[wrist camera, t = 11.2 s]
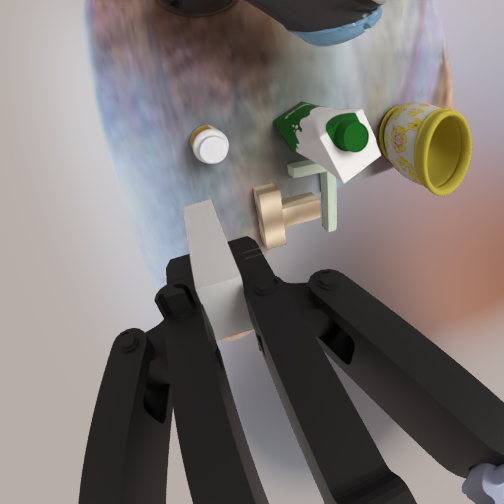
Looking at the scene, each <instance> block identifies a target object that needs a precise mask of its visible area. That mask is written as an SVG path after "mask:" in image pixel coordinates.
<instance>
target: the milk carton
mask: <svg viewBox="0 0 504 504" xmlns="http://www.w3.org/2000/svg"><path fill="white" fill-rule="evenodd" d="M273 122H274V124H275V125H276V127H277V128H278V130H279V131H280V133H281V134H282V136H283V137H284V139H285V140H286V142H287V143H288V145H289V146H290V148H291V149H292V151H294V152H297V153H299V154H301V155H303V156H304V157H306V158H308V159H310V160H312V161H313V162H315V163H317V164H319V165H321V166H322V167H323V168H325V169H326V170H327V171H329V172H330V173H331V174H333V175H334V176H335V177H336V178H338V179H339V180H340V181H341V182H342V183H346V182H347V181H348V180H350V179H351V178H352V177H354V176H355V175H356V174H357V173H359V172H360V171H361V170H363V169H364V168H365V167H367V166H368V165H369V164H371V163H372V162H373V161H374V160H376V159H377V158H378V157H380V156H381V153H380V151H379V148H378V146H377V143H376V138H375V136H374V134H373V132H372V130H371V127H370V125H369V123H368V121H367V119H366V116H365V114H364V112H363V110H362V109H339V110H338V109H333V108H327V107H322V106H316V105H312V104H309V103H305V102H301V103H300V104H298V105H297V106H295V107H294V108H292V109H291V110H289V111H288V112H286V113H285V114H283V115H282V116H280V117H279V118H277V119H276V120H274V121H273Z"/></svg>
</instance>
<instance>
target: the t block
mask: <svg viewBox="0 0 504 504" xmlns="http://www.w3.org/2000/svg"><path fill="white" fill-rule="evenodd" d="M253 192H254V198H255V204H256V210H257V216H258V222H259V228H260V234H261V240H262V242H263V243H264V245H265V247H266V248H267V250H269V249H272V248H276V247H279V246H283V245H286V238H285V227H288V226H292V225H295V224H298V223H302V222H306V221H310V220H313V219H317V218H320V217H321V209H320V199H319V198H318V197H316V196H315V195H314V194H313V193H311V192H310V193H306V194H302V195H298V196H294V197H290V198H286V199H282V200H281V193H280V189H279V188H278V187H277V186H275V185H274V184H273V183H270V184H266V185H262V186H258V187H254V188H253Z"/></svg>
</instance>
